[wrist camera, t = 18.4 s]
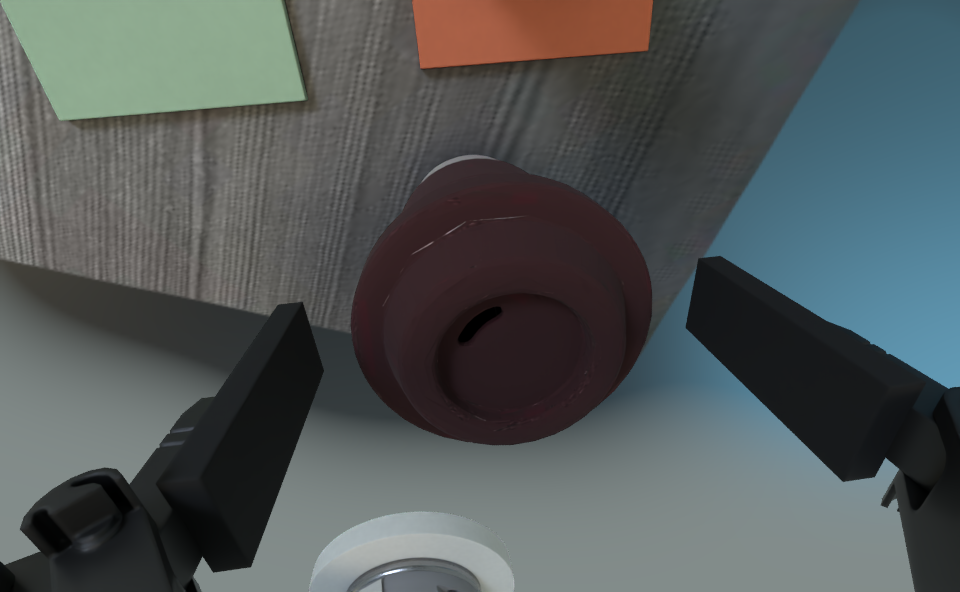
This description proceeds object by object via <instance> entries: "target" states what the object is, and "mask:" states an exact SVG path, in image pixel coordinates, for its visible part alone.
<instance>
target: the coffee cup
mask: <svg viewBox="0 0 960 592" xmlns="http://www.w3.org/2000/svg"><path fill="white" fill-rule="evenodd" d="M651 317H652V289H651V281H650V276H649V272H648V268H647V265H646V262H645V260H644V258H643V256H642V254H641V252H640V250H639V248H638V246H637V244H636V243H635V241H634V240H633V238H632V236H631V235H630V234H629V233H628V231H627V230H626V229H625V228H624V226H623V225H622V224H621V223H620V222H619V221H618V220H617V219H616V218H615V217H614V216H612V215H611V214H610V213H609V212H608V211H607V210H605V209H604V208H603V207H601V206H600V205H599V204H598V203H596V202H595V201H593V200H592V199H590V198H589V197H588V196H586V195H585V194H583V193H582V192H580V191H578V190H576V189H574V188H572V187H570V186H568V185H566V184H563V183H561V182H558V181H555V180H552V179H548V178H544V177H540V176H536V175H530V174H528V173H527V172H525V171H523V170H522V169H520V168H518V167H516V166H514V165H511V164H509V163H506V162H503V161H499V160H496V159H494V158H491V157H487V156H481V155H465V156H459V157H456V158H453V159H450V160H447V161H445V162H443V163H441V164H440V165H438V166H437V167H435V168H434V169H433V170H432V171H431V172H430V173H429V174H428V175H427V176H426V177H425V178H424V179H423V181H422V182H421V184H420V185H419V186H418V187H417V188H416V189H415V191H414V192H413V193H412V195H411V196H410V198H409V200H408V201H407V203H406V205H405V207H404V209H403V211H402V213H401V214H400V215H399V216H398V217H397V218H396V219H395V220H394V221H393V222H392V223H391V224H390V225H389V226H388V228H387V229H386V230H385V231H384V233H383V234H382V235H381V236H380V238H379V239H378V241H377V242H376V244H375V246H374V247H373V249H372V250H371V252H370V254H369V256H368V258H367V261H366V263H365V265H364V268H363V271H362V274H361V276H360V279H359V282H358V285H357V288H356V292H355V295H354V300H353V305H352V313H351V333H352V341H353V346H354V350H355V355H356V358H357V360H358V363H359V365H360V368H361V370H362V372H363V374H364V376H365V378H366V380H367V381H368V383H369V384H370V386H371V387H372V389H373V390H374V391H375V393H376V394H377V395H378V396H379V397H380V399H381V400H382V401H383V402H384V403H386V405H387V406H388V407H390V408H391V409H392V410H393V411H394V412H396V413H397V414H398V415H400V416H401V417H402V418H404V419H405V420H407V421H408V422H410V423H412V424H414V425H416V426H417V427H419V428H421V429H423V430H426V431H429V432H431V433H434V434H437V435H439V436H442V437H446V438H451V439H456V440H461V441H465V442H473V443H479V444H487V445H514V444H520V443H525V442H531V441H536V440H539V439H542V438H545V437H548V436H551V435H554V434H556V433H558V432H560V431H562V430H564V429H566V428H568V427H570V426H571V425H573V424H574V423H576V422H577V421H579V420H580V419H582V418H583V417H585V416H586V415H587V414H588V413H589V412H590V411H591V410H592V409H594V408H595V407H597V406H598V405H599V404H600V403H601V402H602V401H603V400H604V399H606V398H607V397H608V396H609V395H610V394H611V393H612V392H613V391H614V390H615V389H616V388H617V387H618V386H619V384H620V383H621V382H622V381H623V380H624V378H625V377H626V376H627V375H628V373H629V372H630V370H631V369H632V367H633V366H634V364H635V362H636V360H637V358H638V356H639V354H640V352H641V349H642V347H643V345H644V343H645V341H646V337H647V334H648V330H649V326H650V321H651Z"/></svg>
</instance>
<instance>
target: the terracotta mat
mask: <svg viewBox="0 0 960 592" xmlns="http://www.w3.org/2000/svg"><path fill="white" fill-rule="evenodd" d="M412 3H413V11H414V19H415V27H416V35H417V44H418V52H419V60H420V68H421V69H430V68H442V67H455V66H467V65H480V64H492V63H505V62H517V61H529V60H542V59H554V58H567V57H579V56H592V55H604V54H617V53H629V52H642V51H648V47H649V37H650V27H651V16H652V6H653V0H412Z"/></svg>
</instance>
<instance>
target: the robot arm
mask: <svg viewBox="0 0 960 592" xmlns="http://www.w3.org/2000/svg"><path fill="white" fill-rule="evenodd" d="M686 329H687V330H688V331H689V332H691V333H692V334H693V335H694V336H695V337H696V338H697V339H698V340H699V341H700V342H701V343H702V344H703V345H704V346H705V347H706V348H707V349H708V350H709V351H710V352H711V353H712V354H713V355H714V356H715V357H716V358H717V359H718V360H719V361H720V362H721V363H722V364H723V365H724V366H725V367H726V368H727V369H728V370H729V371H730V372H732V374H733V375H734V376H735V377H736V378H737V379H739V381H741V382H742V383H743V384H744V385H745V386H746V387H747V388H748V389H749V390H750V391H751V392H752V393H753V394H754V395H755V396H756V397H757V398H758V399H759V400H760V401H761V402H762V403H763V404H764V405H765V406H766V407H767V408H768V409H769V410H770V411H771V412H772V413H773V414H774V415H775V416H776V417H777V418H778V419H779V420H780V421H782V422H783V424H784V425H786V427H787V428H789V429H790V430H791V431H792V432H793V433H794V434H795V435H796V436H797V437H798V438H799V439H800V440H801V441H802V442H803V443H804V444H805V445H806V446H807V447H808V448H809V449H810V450H811V451H812V452H813V453H814V454H815V455H816V456H817V457H818V458H819V459H820V460H821V461H822V462H823V463H824V464H825V465H826V466H827V467H828V468H829V469H830V470H832V471H833V473H834V474H836V475H837V476H838V477H839V478H840V479H841V480H842V481H843V482H845V481H852V480H859V479H865V478H872V477H875V476H876V474H877V472H878V470H879V468H880V466H881V465H882V463H883V461H884V459H885V457H886V458H887V459H888V460H889V461H890V462H892V463H893V464H894V465H895V466H896V467H898V468H899V471H898V472H897V474H896V476H895V478H894V479H893V481H892V483H891V484H890V486H889V488H888V490H887V491H886V493H885V495H884V497H883V498H882V503H881V505H882V506H884V507H887V508H888V506H889V504H890V503H891V501H892V500H894V499H897V501H898V506H899V508H898V510H897V511H898V512H900V516H901V521H902V527H903V531H904V537H905V542H906V547H907V552H908V558H909V563H910V568H911V573H912V578H913V584H914V589H915V592H960V387H953V388H950V389H948V388H946V387H945V386H943V385H941V384H940V383H938V382H936V381H934V380H933V379H931V378H929V377H928V376H926V375H924V374H923V373H921V372H919V371H918V370H916V369H914V368H913V367H911V366H909V365H908V364H906V363H904V362H903V361H901V360H899V359H898V358H896V357H894V356H893V355H891V354H886V351H884V350H883V349H881V348H879V347H878V346H876V345H874V344H870V342H869V341H868V340H866V339H864V338H863V337H861V336H859V335H858V334H856V333H854V332H853V331H851V330H848V329H846V328H843V327H841V326H838V325H835V324H833V323H830V322H828V321H826V320H824V319H822V318H821V317H819V316H817V315H816V314H814V313H813V312H811V311H809V310H808V309H806V308H804V307H803V306H801V305H800V304H798V303H796V302H794V301H793V300H791V299H789V298H788V297H786V296H785V295H783V294H782V293H780V292H778V291H777V290H775V289H773V288H772V287H770V286H768V285H767V284H765V283H764V282H762V281H760V280H759V279H757V278H755V277H754V276H752V275H750V274H749V273H747V272H746V271H744V270H742V269H741V268H739V267H737V266H736V265H734V264H732V263H731V262H729V261H728V260H726V259H724V258H723V257H721V256H717V257H707V258H699V259H698V264H697V269H696V275H695V281H694V286H693V291H692V296H691V302H690V307H689V312H688V317H687V323H686ZM323 372H324V370H323V366H322V363H321V360H320V357H319V353H318V350H317V347H316V344H315V340H314V338H313V334H312V331H311V328H310V324H309V321H308V318H307V315H306V311H305V308H304V305H303V302H298V303H289V304H280V305H278V306H277V307H276V309H275V310H274V311H273V313H272V314H271V316H270V317H269V319H268V320H267V322H266V323H265V325H264V326H263V327H262V329H261V330H260V332H259V333H258V335H257V336H256V338H255V339H254V341H253V342H252V344H251V345H250V347H249V348H248V349H247V351H246V352H245V354H244V355H243V357H242V358H241V360H240V361H239V363H238V364H237V365H236V367H235V368H234V370H233V371H232V373H231V374H230V376H229V377H228V379H227V380H226V382H225V383H224V385H223V386H222V387H221V389H220V390H219V392H218V393H217V395H216V396H215V397H209V398H202V399H200V400H199V401H198V402H197V403H196V404H194V405H193V406H192V407H190V408H189V409H188V410H187V411H185V412H184V413H183V414H182V415H181V416H180V418H179V419H178V421H177V422H176V423H175V425H174V426H173V427H172V429H171V430H170V434H167V435H166V437H165V438H164V439H163V441H162V442H161V443H160V448H157V449H156V450H155V451H154V453H153V454H152V455H151V457H150V458H149V459H148V461H147V462H146V463H145V465H144V466H143V467H142V469H141V470H140V471H139V473H138V474H137V475H136V477H135V478H134V479H133V481H132V482H131V483H130V485H129V484H128V483H127V481H126V480H125V478H124V477H123V475H122V474H121V473H120V472H119V471H118V470H117V469H111V468H101V469H96V470H91V471H88V472H85V473H83V474H80V475H78V476H75V477H73V478H70V479H69V480H67V481H66V482H64V483H62V484H61V485H59V486H57V487H56V488H54V489H52V490H51V491H50V492H48V493H47V494H46V495H45V496H43V497H42V498H41V499H40V500H39V501H38V502H36V503H35V504H34V506H33V507H32V508H31V509H30V510H29V512H28V513H27V514H26V515H25V516H24V518H23V521H22V524H21V528H20V530H21V531H22V532H23V533H24V534H25V535H26V536H27V537H28V538H29V539H30V540H31V541H32V542H33V544H34V545H35V546H36V547H37V548H38V549H39V550H40V551H41V552H38V553H35V554H33V555H30V556H27V557H25V558H22V559H19V560H17V561H14V562H12V563H9V564H6V565H4V564H3V563H1V562H0V592H201V589H200V587H199V584H198V583H197V582H196V580H195V579H194V577H193V575H194V573H195V571H196V569H197V566H198V564H199V562H200V560H201V558H202V556H203V558H204V559H205V561H206V562H207V564H208V565H209V567H210V568H211V570H212V571H213V572H220V571H227V570H234V569H241V568H247V567H251V566H252V563H253V560H254V557H255V554H256V552H257V549H258V547H259V544H260V541H261V538H262V536H263V533H264V531H265V528H266V525H267V522H268V520H269V517H270V514H271V512H272V509H273V506H274V504H275V501H276V498H277V496H278V493H279V490H280V488H281V485H282V482H283V480H284V477H285V474H286V472H287V468H288V466H289V463H290V461H291V458H292V455H293V452H294V450H295V447H296V444H297V442H298V439H299V436H300V434H301V431H302V429H303V426H304V423H305V420H306V418H307V415H308V412H309V410H310V407H311V404H312V401H313V399H314V396H315V393H316V391H317V388H318V386H319V383H320V380H321V377H322V375H323ZM347 592H481V586H480V583H479V581H478V579H477V578H476V576H475V575H474V574H473V573H472V572H471V571H469V570H468V569H466V568H465V567H463V566H461V565H459V564H456V563H453V562H450V561H446V560H442V559H436V558H407V559H401V560H396V561H391V562H388V563H385V564H382V565H379V566H377V567H374V568H372V569H370V570H368V571H367V572H365V573H363V574H362V575H360V576H359V577H358V578H357V579H356V580H355V581H354V582H353V583H352V584H351V585H350V586H349V588H348V590H347Z"/></svg>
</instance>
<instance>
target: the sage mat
mask: <svg viewBox="0 0 960 592" xmlns="http://www.w3.org/2000/svg"><path fill="white" fill-rule="evenodd" d="M0 2H1V4H2V6H3V8H4V10H5V12H6V14H7V16H8V18H9V20H10V22H11V24H12V26H13V28H14V30H15V32H16V34H17V36H18V38H19V41H20V43H21V45H22V47H23V49H24V51H25V53H26V55H27V57H28V59H29V61H30V63H31V65H32V67H33V69H34V71H35V73H36V75H37V77H38V79H39V81H40V83H41V85H42V87H43V89H44V91H45V93H46V95H47V97H48V99H49V101H50V103H51V105H52V107H53V109H54V111H55V113H56V115H57V117H58V119H59V120H60V121H67V120H79V119H91V118H103V117H115V116H127V115H139V114H151V113H163V112H175V111H187V110H199V109H211V108H223V107H235V106H247V105H259V104H271V103H283V102H295V101H306V100H308V97H307V93H306V89H305V85H304V81H303V76H302V72H301V68H300V64H299V60H298V55H297V51H296V47H295V43H294V39H293V35H292V30H291V26H290V22H289V18H288V14H287V9H286V5H285V1H284V0H0Z"/></svg>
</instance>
